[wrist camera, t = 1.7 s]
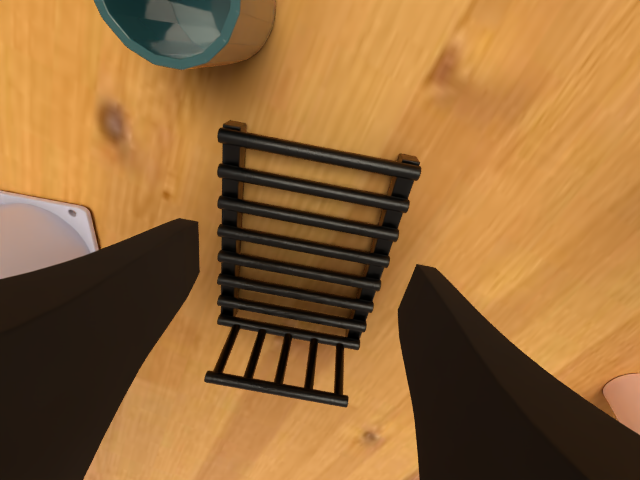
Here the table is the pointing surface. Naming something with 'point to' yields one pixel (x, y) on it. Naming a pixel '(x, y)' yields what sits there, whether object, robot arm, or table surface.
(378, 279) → the rack
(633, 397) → the smoothie
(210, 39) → the cup
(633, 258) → the table surface
